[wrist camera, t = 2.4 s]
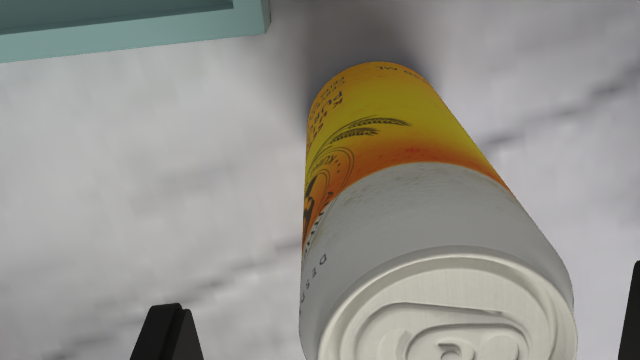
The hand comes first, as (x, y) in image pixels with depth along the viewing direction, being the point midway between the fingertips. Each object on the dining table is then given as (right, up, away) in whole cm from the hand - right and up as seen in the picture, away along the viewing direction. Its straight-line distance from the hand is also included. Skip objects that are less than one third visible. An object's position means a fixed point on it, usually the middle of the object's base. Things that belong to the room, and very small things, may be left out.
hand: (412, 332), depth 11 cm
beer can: (0, +6, +13) cm, 15 cm away
